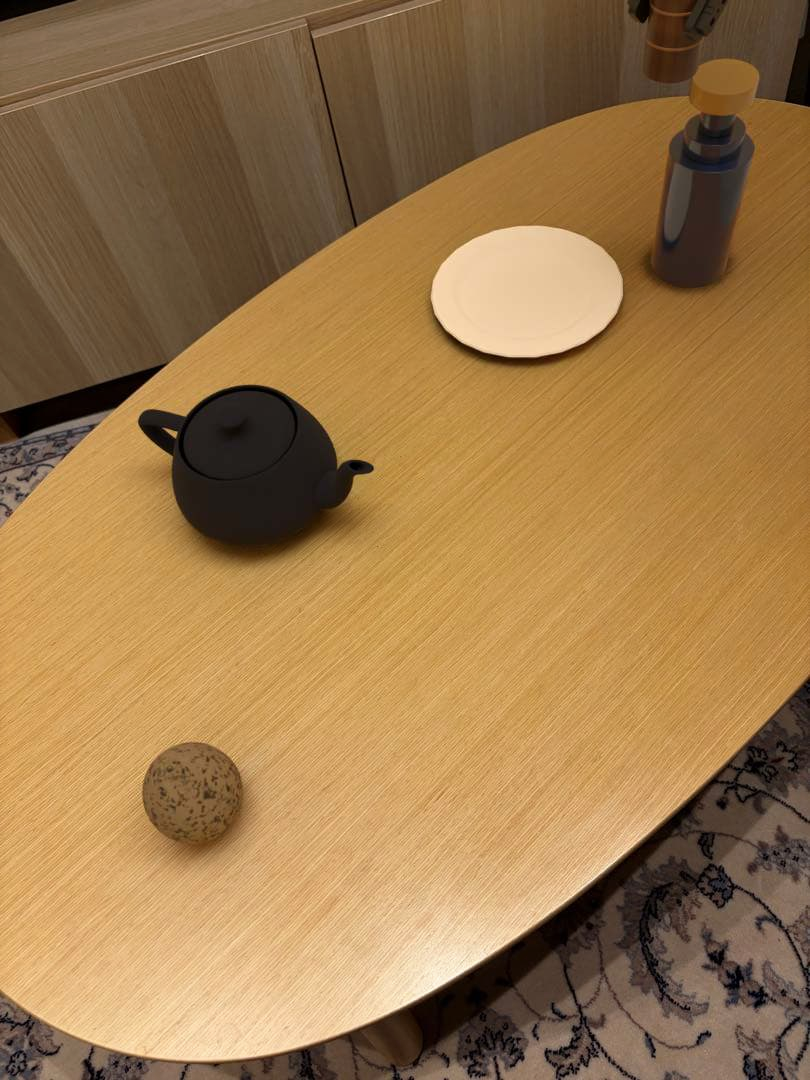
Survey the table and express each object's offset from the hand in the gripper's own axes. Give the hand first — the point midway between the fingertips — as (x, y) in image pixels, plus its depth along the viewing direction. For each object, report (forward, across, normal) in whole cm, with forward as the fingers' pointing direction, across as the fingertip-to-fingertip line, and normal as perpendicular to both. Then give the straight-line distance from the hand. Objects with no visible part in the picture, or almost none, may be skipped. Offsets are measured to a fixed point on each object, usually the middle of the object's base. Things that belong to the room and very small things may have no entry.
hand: (663, 27), depth 67 cm
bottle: (+13, 0, +30) cm, 32 cm away
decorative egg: (+66, +8, -23) cm, 71 cm away
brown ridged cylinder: (+2, 0, +4) cm, 4 cm away
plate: (+24, -10, +19) cm, 32 cm away
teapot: (+50, -11, -7) cm, 52 cm away
